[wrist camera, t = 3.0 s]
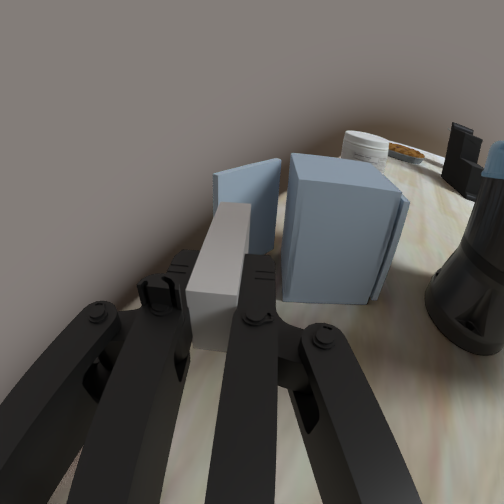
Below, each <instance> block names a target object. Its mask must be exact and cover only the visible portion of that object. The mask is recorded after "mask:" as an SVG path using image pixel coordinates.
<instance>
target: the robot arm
mask: <svg viewBox="0 0 504 504" xmlns="http://www.w3.org/2000/svg"><path fill="white" fill-rule="evenodd" d="M481 176H482V180H481V183H480V187H479V191H478V194H477V197H476V201H475V204H474V207H473V210H472V213H471V216H470V218H469V221H468V224H467V227H466V229H465V232H464V235H463V237H462V240H461V242H460V245H459V246H458V248H457V249H456V250H455V251H454V253H453V254H452V255H451V256H450V257H449V258H448V260H447V261H446V262H445V263H444V265H443V266H442V268H440V269H439V270H438V271H437V272H436V273H435V274H434V275H433V277H432V279H431V281H430V283H429V285H428V287H427V290H426V293H425V303H426V307H427V310H428V312H429V314H430V316H431V318H432V320H433V321H434V323H435V324H436V326H437V327H438V328H439V329H440V331H441V332H442V333H443V334H444V335H445V336H446V337H447V338H449V339H450V340H451V341H452V342H453V343H455V344H456V345H458V346H459V347H461V348H463V349H465V350H467V351H469V352H472V353H475V354H479V355H492V354H495V353H497V352H499V351H500V350H501V349H502V348H503V347H504V141H497V142H495V143H493V144H492V146H491V148H490V150H489V154H488V157H487V161H486V164H485V168H484V170H483V171H482V173H481ZM250 215H251V204H248V203H234V202H220V203H219V206H218V208H217V211H216V213H215V216H214V218H213V220H212V223H211V226H210V228H209V230H208V233H207V235H206V238H205V240H204V243H203V246H202V248H201V251H196V250H182V251H180V252H179V253H178V254H177V255H175V256H174V258H173V260H172V262H171V265H170V266H169V268H168V270H167V273H166V274H153V275H149V276H147V277H145V278H143V279H141V280H140V282H139V283H138V284H137V288H138V293H139V297H140V300H141V304H142V306H141V308H139V309H135V310H128V311H118V312H117V310H116V307H115V305H113V304H112V303H110V302H107V301H96V302H94V303H91V304H89V305H88V306H87V307H85V308H84V309H83V310H82V311H81V312H80V313H79V314H78V315H77V316H76V317H75V318H74V319H73V320H72V321H71V323H70V324H69V325H68V326H67V327H66V328H65V329H64V330H63V331H62V332H61V333H60V334H59V335H58V337H57V338H56V339H55V340H54V341H53V342H52V343H51V344H50V345H49V346H48V348H47V349H46V350H45V351H44V352H43V353H42V354H41V356H40V357H39V358H38V359H37V360H36V361H35V362H34V364H33V365H32V366H31V367H30V369H29V370H28V371H27V372H26V373H25V374H24V376H23V377H22V378H21V379H20V381H19V382H18V383H17V384H16V385H15V387H14V388H13V389H12V390H11V392H10V393H9V394H8V396H7V397H6V398H5V400H4V401H3V402H2V403H1V405H0V504H47V502H48V501H49V499H50V497H51V496H52V494H53V492H54V491H55V489H56V488H57V486H58V484H59V483H60V481H61V480H62V478H63V476H64V475H65V473H66V472H67V470H68V468H69V467H70V465H71V464H72V462H73V461H74V459H75V457H76V456H77V454H78V453H79V451H80V450H81V448H82V447H83V449H82V452H81V455H80V458H79V462H78V465H77V468H76V471H75V475H74V478H73V482H72V485H71V489H70V492H69V496H68V500H67V504H159V503H160V497H161V492H162V487H163V482H164V476H165V471H166V467H167V462H168V457H169V452H170V447H171V443H172V438H173V433H174V429H175V424H176V420H177V415H178V411H179V407H180V402H181V398H182V394H183V389H184V385H185V381H186V377H187V373H188V368H189V364H190V351H189V350H190V346H191V342H192V343H193V348H196V349H204V350H212V351H221V352H227V355H226V361H225V368H224V374H223V381H222V387H221V394H220V401H219V407H218V414H217V421H216V427H215V434H214V441H213V448H212V455H211V461H210V468H209V475H208V482H207V490H206V497H205V504H274V498H275V474H276V443H277V393H278V386H281V387H284V388H287V389H288V392H289V395H290V399H291V402H292V405H293V409H294V412H295V415H296V418H297V422H298V425H299V428H300V431H301V435H302V438H303V441H304V444H305V448H306V451H307V454H308V457H309V461H310V464H311V467H312V470H313V473H314V477H315V480H316V483H317V486H318V490H319V493H320V496H321V499H322V502H323V504H422V502H421V500H420V497H419V495H418V492H417V490H416V487H415V485H414V482H413V480H412V478H411V475H410V473H409V470H408V468H407V466H406V463H405V461H404V459H403V457H402V454H401V452H400V450H399V447H398V445H397V443H396V441H395V438H394V436H393V434H392V432H391V430H390V427H389V425H388V423H387V421H386V419H385V417H384V415H383V412H382V410H381V408H380V406H379V404H378V402H377V400H376V398H375V396H374V393H373V391H372V389H371V387H370V385H369V383H368V381H367V379H366V377H365V375H364V373H363V371H362V369H361V367H360V365H359V363H358V361H357V359H356V357H355V355H354V353H353V351H352V349H351V347H350V345H349V343H348V341H347V339H346V338H345V336H344V334H343V333H342V332H341V331H340V330H339V329H338V328H336V327H335V326H333V325H330V324H326V323H315V324H312V325H309V326H308V327H307V328H305V329H301V328H297V327H294V326H292V325H289V324H287V323H286V322H284V321H283V320H282V319H281V318H280V317H279V316H278V314H277V312H276V287H275V262H274V261H273V259H272V258H271V256H269V255H257V254H248V249H249V232H250ZM83 445H84V446H83Z"/></svg>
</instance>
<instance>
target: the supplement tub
mask: <svg viewBox="0 0 504 504" xmlns="http://www.w3.org/2000/svg"><path fill="white" fill-rule="evenodd" d="M388 149H389V141H388V140H386V139H384V138H382V137H379V136H376V135H372V134H368V133H364V132H358V131H346V132H345V137H344V140H343V147H342V154H341V159H348V160H355V161H362V162H368V163H371V164H372V165H373V166H374V167H375V168H376V169H378V170H379V171H380V172H381V173H382V174H383V175H384V171H385V166H386V161H387V156H388Z"/></svg>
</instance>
